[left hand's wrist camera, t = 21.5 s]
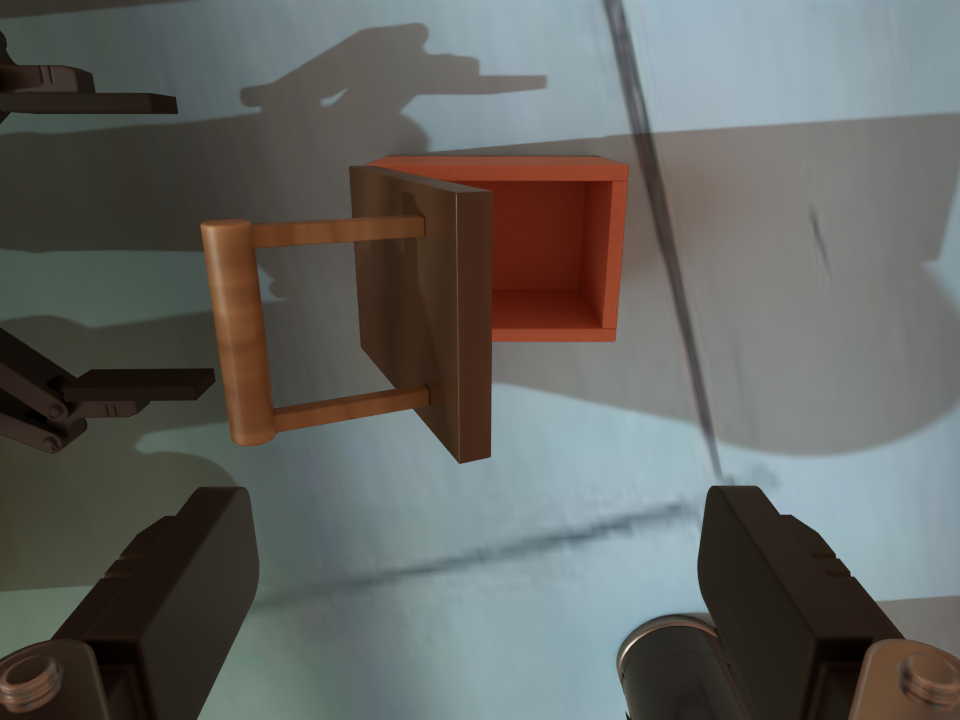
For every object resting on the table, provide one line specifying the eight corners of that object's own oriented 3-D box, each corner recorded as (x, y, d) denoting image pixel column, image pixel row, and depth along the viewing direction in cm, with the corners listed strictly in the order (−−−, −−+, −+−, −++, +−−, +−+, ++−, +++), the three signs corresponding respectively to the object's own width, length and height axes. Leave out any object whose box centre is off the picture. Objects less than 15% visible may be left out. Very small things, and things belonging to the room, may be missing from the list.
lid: (493, 191, 20) (199, 204, 17) (491, 457, 24) (243, 511, 20) (374, 165, 32) (187, 169, 29) (383, 344, 36) (216, 366, 32)
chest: (596, 155, 42) (629, 165, 33) (588, 298, 45) (615, 342, 36) (388, 155, 42) (363, 164, 33) (395, 297, 45) (373, 342, 36)
